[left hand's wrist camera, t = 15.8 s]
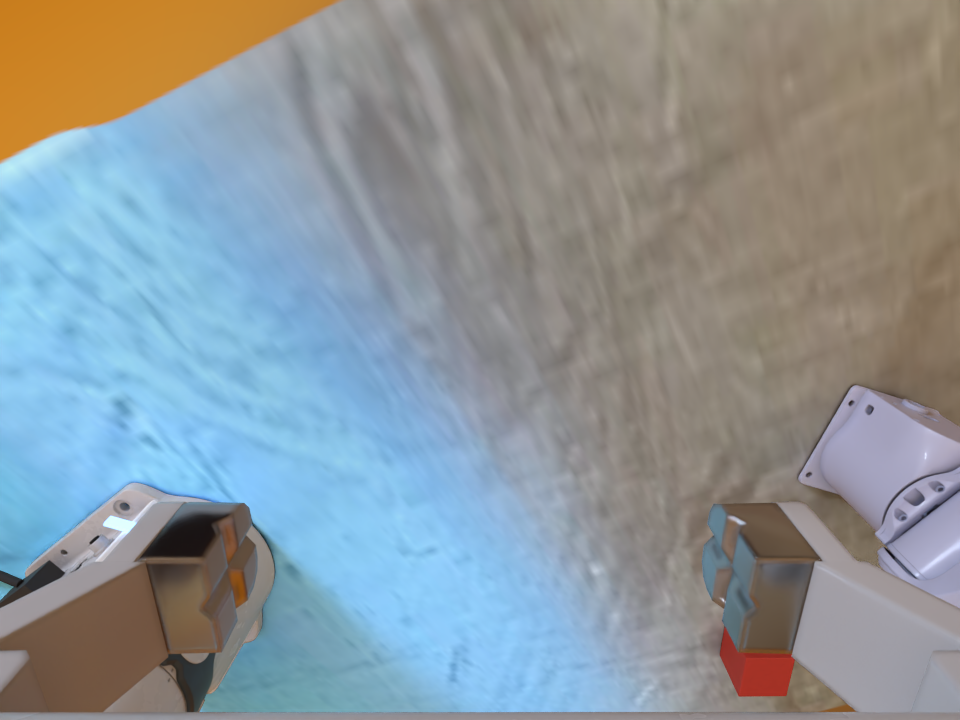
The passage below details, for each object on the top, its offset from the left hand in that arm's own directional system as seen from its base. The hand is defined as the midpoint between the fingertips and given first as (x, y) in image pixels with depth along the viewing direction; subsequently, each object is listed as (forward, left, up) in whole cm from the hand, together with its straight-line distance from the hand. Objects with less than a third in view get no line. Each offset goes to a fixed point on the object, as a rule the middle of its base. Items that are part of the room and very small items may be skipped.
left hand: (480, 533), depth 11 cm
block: (+5, -47, -36) cm, 59 cm away
